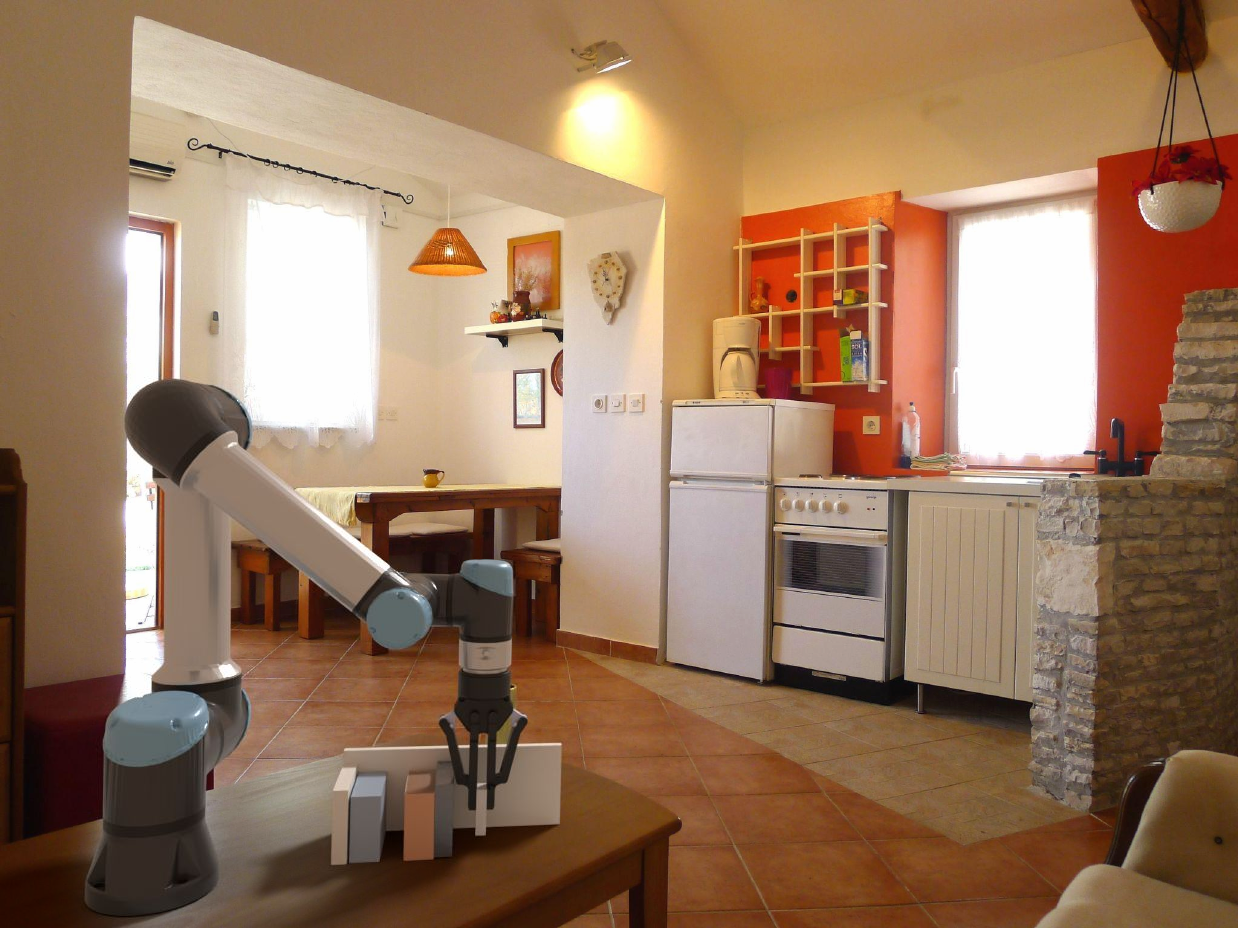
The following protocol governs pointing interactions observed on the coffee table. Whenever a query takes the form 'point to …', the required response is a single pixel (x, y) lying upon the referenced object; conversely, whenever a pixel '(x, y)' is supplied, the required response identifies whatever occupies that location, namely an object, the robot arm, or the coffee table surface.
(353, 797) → the blue book
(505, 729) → the vase
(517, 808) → the white upright backboard
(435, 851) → the bookend
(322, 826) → the coffee table surface
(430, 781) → the rust book
